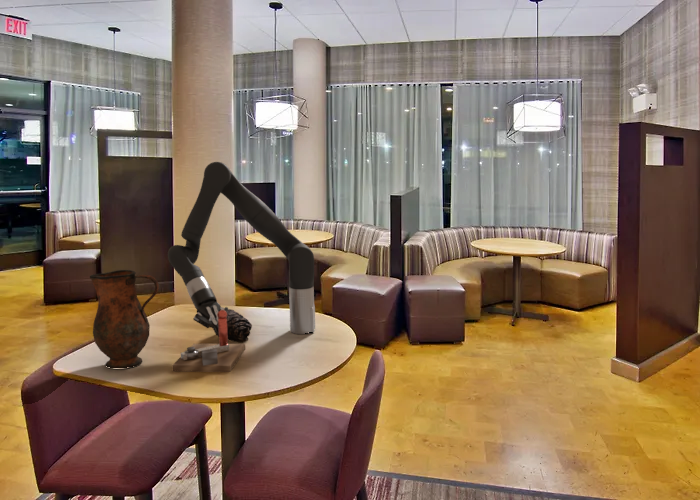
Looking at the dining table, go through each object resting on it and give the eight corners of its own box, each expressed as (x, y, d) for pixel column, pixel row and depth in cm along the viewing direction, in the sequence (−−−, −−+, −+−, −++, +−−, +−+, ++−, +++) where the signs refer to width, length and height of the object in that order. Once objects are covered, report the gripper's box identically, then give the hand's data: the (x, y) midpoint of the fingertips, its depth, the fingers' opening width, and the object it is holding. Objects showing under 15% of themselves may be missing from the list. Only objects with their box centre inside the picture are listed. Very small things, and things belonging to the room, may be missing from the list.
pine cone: (241, 345, 189) (240, 318, 188) (209, 336, 200) (207, 310, 198) (262, 337, 197) (261, 311, 196) (230, 329, 208) (229, 304, 206)
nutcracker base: (245, 349, 185) (244, 332, 184) (230, 371, 165) (229, 353, 164) (194, 349, 186) (193, 332, 185) (172, 371, 166) (171, 352, 165)
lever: (184, 361, 168) (182, 319, 166) (179, 357, 171) (177, 316, 169) (231, 350, 177) (229, 310, 175) (225, 347, 180) (223, 307, 178)
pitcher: (108, 355, 181) (101, 267, 176) (172, 354, 181) (166, 267, 176) (85, 374, 164) (76, 278, 160) (154, 373, 164) (148, 277, 160)
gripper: (186, 290, 178) (207, 334, 172) (221, 283, 188) (242, 325, 181) (179, 303, 183) (200, 346, 177) (214, 295, 192) (234, 336, 186)
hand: (221, 335), depth 179 cm, fingers closed
